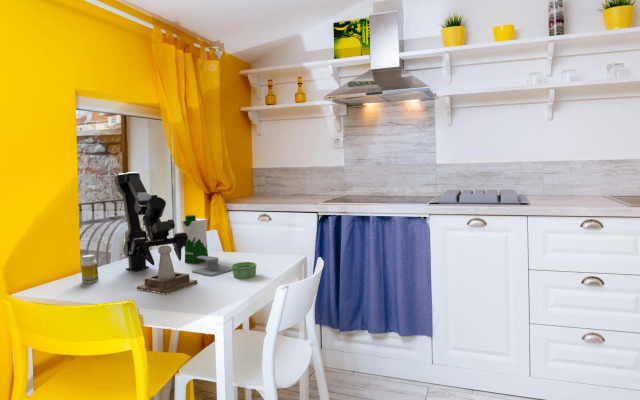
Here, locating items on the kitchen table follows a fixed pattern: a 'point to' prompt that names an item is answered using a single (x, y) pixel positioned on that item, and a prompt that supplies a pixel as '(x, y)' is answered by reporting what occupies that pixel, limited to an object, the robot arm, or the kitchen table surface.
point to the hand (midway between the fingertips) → (167, 262)
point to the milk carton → (195, 239)
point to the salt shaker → (165, 264)
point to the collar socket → (167, 283)
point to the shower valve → (212, 267)
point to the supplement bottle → (89, 269)
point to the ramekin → (244, 270)
